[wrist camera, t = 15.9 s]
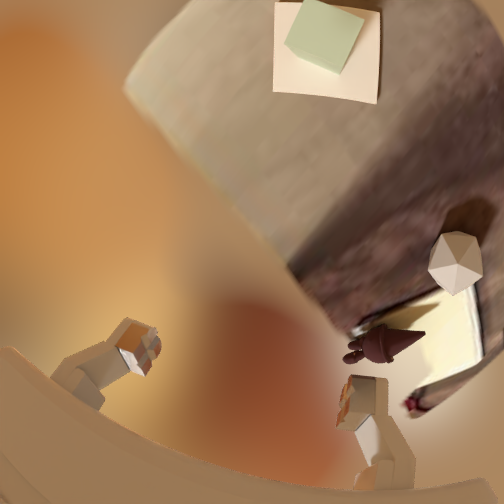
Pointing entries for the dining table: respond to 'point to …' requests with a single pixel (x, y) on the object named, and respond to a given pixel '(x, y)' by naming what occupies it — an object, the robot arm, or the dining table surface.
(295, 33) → the green block
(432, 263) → the die
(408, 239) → the dining table surface
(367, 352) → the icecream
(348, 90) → the cream tile
